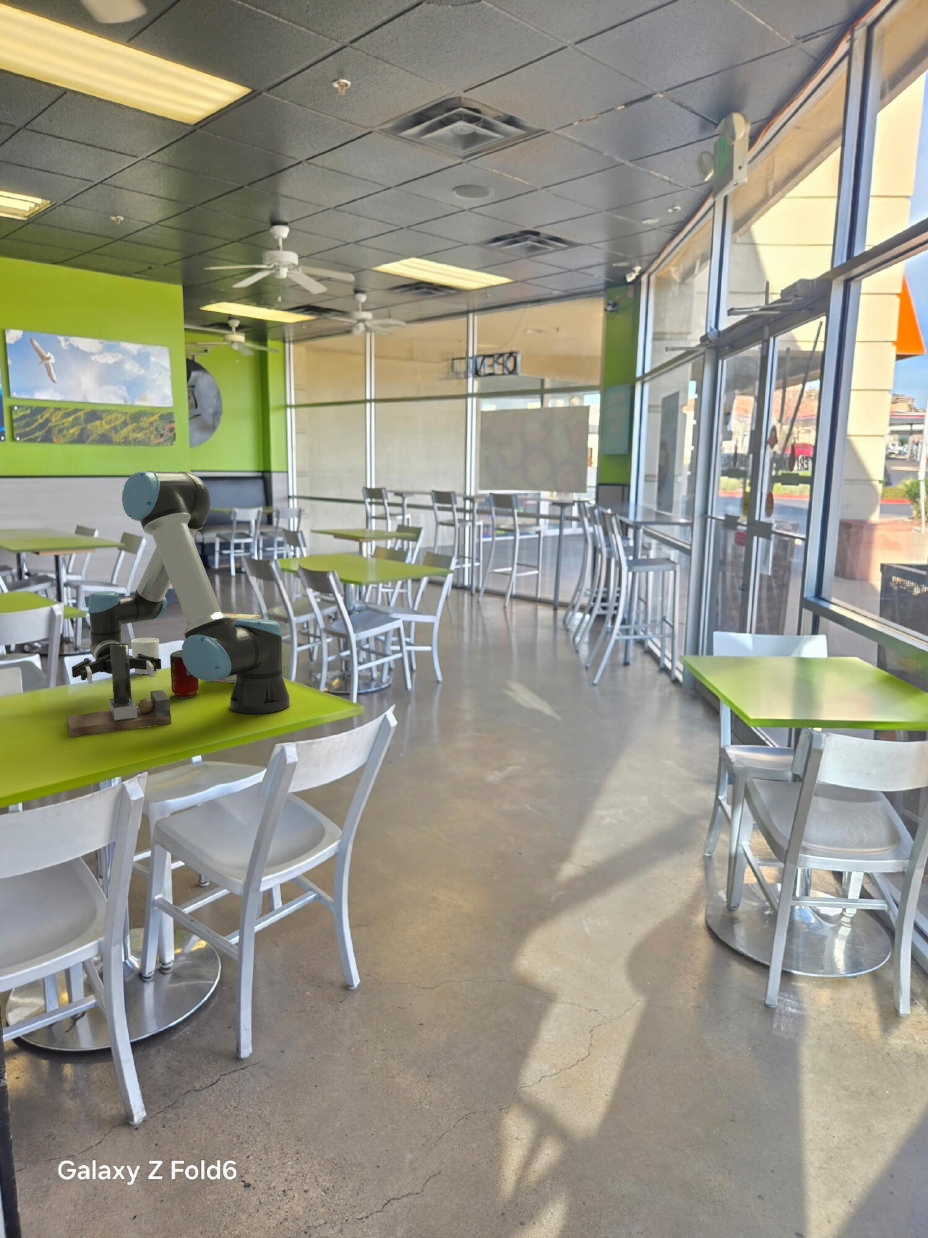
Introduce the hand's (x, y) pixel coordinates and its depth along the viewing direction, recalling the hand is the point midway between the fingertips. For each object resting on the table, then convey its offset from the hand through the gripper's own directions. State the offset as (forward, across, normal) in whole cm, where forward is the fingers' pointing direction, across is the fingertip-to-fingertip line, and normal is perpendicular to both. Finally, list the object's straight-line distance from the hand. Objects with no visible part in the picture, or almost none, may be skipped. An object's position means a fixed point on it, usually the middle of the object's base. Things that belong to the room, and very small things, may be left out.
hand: (121, 674), depth 189 cm
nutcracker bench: (-2, +1, -13) cm, 13 cm away
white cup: (-54, -13, -13) cm, 57 cm away
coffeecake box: (-32, -34, -13) cm, 49 cm away
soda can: (-22, -18, -13) cm, 31 cm away
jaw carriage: (-2, 0, -10) cm, 11 cm away
